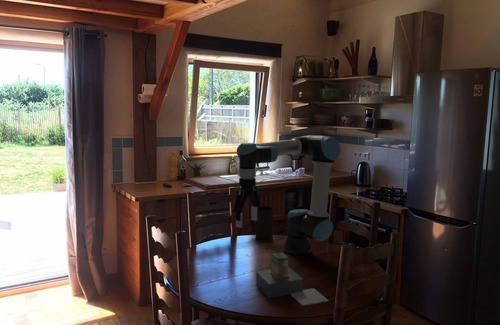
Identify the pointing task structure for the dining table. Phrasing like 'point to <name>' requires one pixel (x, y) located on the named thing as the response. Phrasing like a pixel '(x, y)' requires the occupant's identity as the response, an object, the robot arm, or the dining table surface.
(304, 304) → the coaster
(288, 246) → the robot arm
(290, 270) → the block
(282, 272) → the teal and tan block
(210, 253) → the dining table surface
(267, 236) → the beer stein
